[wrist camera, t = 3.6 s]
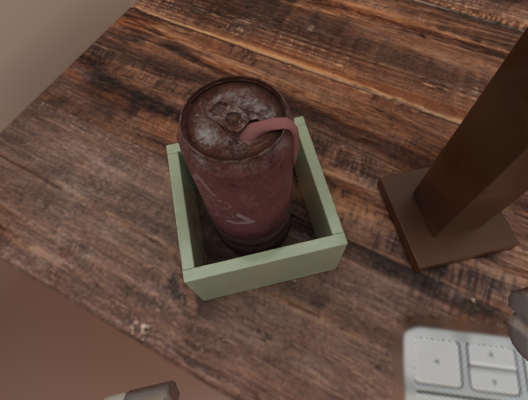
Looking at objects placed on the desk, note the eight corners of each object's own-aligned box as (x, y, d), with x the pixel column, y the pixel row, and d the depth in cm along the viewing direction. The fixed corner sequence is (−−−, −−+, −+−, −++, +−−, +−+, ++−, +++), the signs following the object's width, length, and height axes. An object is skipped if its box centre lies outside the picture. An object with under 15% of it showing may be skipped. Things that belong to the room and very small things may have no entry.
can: (293, 259, 29) (301, 166, 16) (215, 258, 29) (163, 166, 17) (293, 191, 32) (299, 67, 19) (221, 191, 32) (180, 69, 19)
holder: (336, 269, 28) (348, 243, 23) (203, 301, 28) (183, 282, 22) (299, 158, 33) (303, 115, 28) (185, 184, 32) (165, 145, 27)
